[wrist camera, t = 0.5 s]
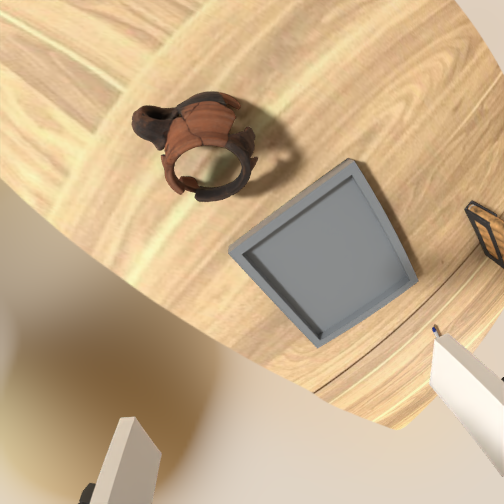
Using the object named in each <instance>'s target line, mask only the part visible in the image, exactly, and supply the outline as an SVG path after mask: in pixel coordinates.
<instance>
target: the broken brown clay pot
mask: <svg viewBox="0 0 504 504" xmlns="http://www.w3.org/2000/svg"><path fill="white" fill-rule="evenodd" d="M226 103H227V104H229V105H231V106H232V107H234V108H236V109H237V110H239V109H240V108H241V105H240V104H239V103H238V102H237V100H235V99H234V98H233V97H231V96H229V95H227V94H224V93H219V92H203V93H199V94H196V95H194V96H192V97H190V98H189V99H187V100H186V101H184V102H182V103H181V104H179V105H177V107H176V108H160V107H156V106H142V107H141V108H139V109H138V110H137V111H135V112H134V113H133V116H132V127H133V130H134V132H135V133H136V134H137V135H138V136H140V137H141V138H143V139H145V140H148V141H150V142H152V143H153V144H154V145H155V146H156V148H157V149H158V150H160V151H161V150H163V149H164V147H165V155H164V154H163V155H161V160H162V164H163V167H164V170H165V178H166V181H167V182H168V184H169V185H170V187H171V188H172V189H173V190H174V191H175V192H177V193H178V194H180V195H181V194H182V193H183V192H184V191H185V190H187V191H190V192H194V193H196V194H195V199H196V200H197V201H200V202H210V201H218V200H223V199H225V198H228V197H230V196H231V195H234V194H235V193H237V192H239V191H240V190H241V189H242V188H243V187H244V186H245V185H246V184H247V182H248V180H249V178H250V175H251V171H252V170H253V168H254V166H255V165H256V162H257V160H258V157H254V158H250V157H251V156H252V154H253V151H254V148H255V145H254V140H255V134H254V132H253V130H252V129H251V128H250V127H249V126H248V127H246V128H245V130H244V131H242V132H239V133H236V134H229V131H230V130H231V127H232V125H233V123H234V120H235V119H236V116H235V114H234V112H233V110H232V109H229V108H227V107H226ZM179 114H181V116H182V117H178V116H179ZM177 117H178V118H177ZM203 145H205V146H206V145H212V146H219V147H224V148H227V149H228V150H230V151H231V152H233V153H234V154H235V155H236V156H237V157H238V158H239V160H240V162H241V165H242V169H241V173H240V175H239V176H238V177H237V178H236V179H235V180H234V181H233V182H231V183H229V184H226V185H224V186H220V187H214V188H211V187H202V186H198V184H197V182H196V180H195V179H194V178H192V177H185V176H181V177H180V179H178V178H177V177H176V175H175V172H174V166H175V162H176V160H177V159H178V158H179V157H180V156H181V155H182V154H183V153H184V152H186V151H188V150H190V149H192V148H195V147H199V146H203Z"/></svg>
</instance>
